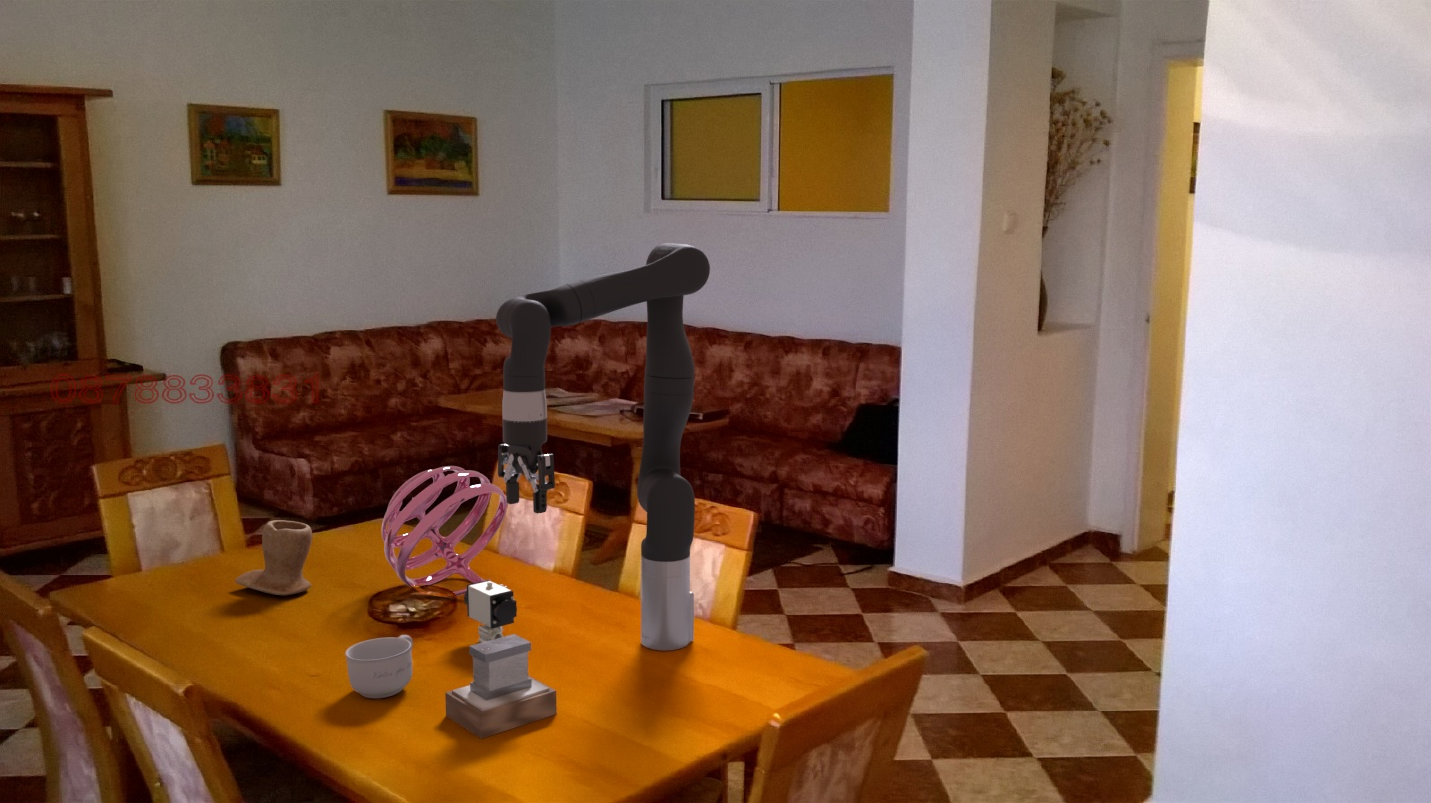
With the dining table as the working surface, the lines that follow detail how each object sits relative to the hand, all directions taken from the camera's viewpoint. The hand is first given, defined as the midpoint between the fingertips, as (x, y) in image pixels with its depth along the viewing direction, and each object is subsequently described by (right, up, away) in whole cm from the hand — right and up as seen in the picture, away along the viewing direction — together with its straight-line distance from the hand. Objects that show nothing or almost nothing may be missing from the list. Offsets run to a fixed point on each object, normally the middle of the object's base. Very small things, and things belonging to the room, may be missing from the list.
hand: (526, 507), depth 203 cm
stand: (-2, -33, -13) cm, 35 cm away
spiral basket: (-26, -22, +52) cm, 62 cm away
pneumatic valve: (-9, -28, +19) cm, 35 cm away
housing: (-2, -28, -13) cm, 31 cm away
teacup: (-23, -31, -2) cm, 39 cm away
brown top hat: (-61, -22, +49) cm, 81 cm away
